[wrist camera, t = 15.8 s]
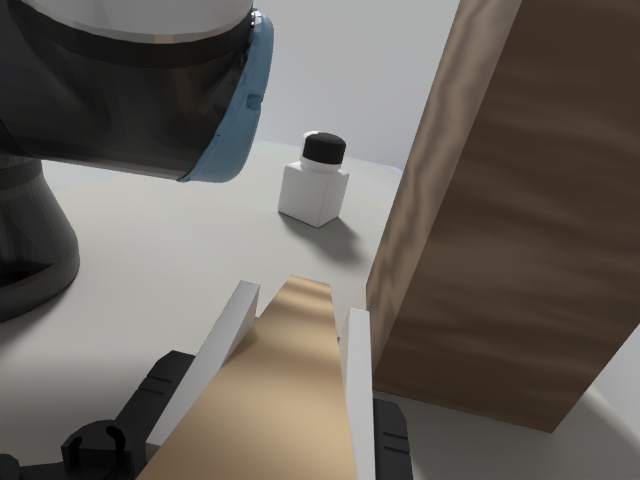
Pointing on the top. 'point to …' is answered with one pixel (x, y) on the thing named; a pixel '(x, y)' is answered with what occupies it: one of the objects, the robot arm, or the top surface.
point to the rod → (269, 402)
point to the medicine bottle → (315, 180)
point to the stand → (516, 215)
